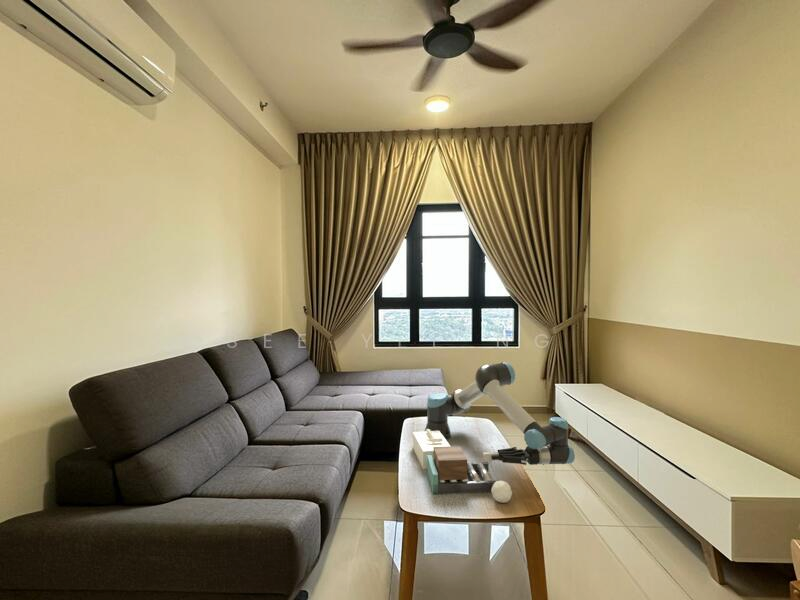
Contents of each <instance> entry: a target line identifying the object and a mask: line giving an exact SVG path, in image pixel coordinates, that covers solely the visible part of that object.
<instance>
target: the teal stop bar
mask: <svg viewBox="0 0 800 600" xmlns="http://www.w3.org/2000/svg"><path fill="white" fill-rule="evenodd" d="M427 465H428V466H427V469H426V474H427V477H428V480H429V483H430V489H431V492H432V494H433V495H439V494H438V491H437V489H436V487H435V486H434V484H435V485H436V486H437V488H438V485H437V484H438V473H437V470H436V467H435V464H434V461H433V458H432V455H427ZM427 470H428V471H427ZM434 487H435V489H433V488H434ZM436 493H437V494H436Z"/></svg>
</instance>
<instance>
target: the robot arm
mask: <svg viewBox="0 0 800 600" xmlns="http://www.w3.org/2000/svg"><path fill="white" fill-rule="evenodd" d="M474 378H475V379H474V380H475V381H473V382H472V383H470V384H469V385H467V386H466V387H464V388H462V389H457V390H455V391H454V392H453V393H449V394H447V393H444V392H436V393H432V394H430V395H428V397H427V401H426V406H427V407H426V409H427V412H426V413H427V418H426V419H427V421H426V425H425V427H424V431H426V429H430V431H440V432H441V434H442V435H443V436H444V438H445V439H446V440H448V439H450V438H451V436H452V435H451V434H452V432H451V429H450V426H449V422H448V416H454V415H457V414H464V413H465V412H467V411H469V410H470V408H471V406H472V403H473V402H474V401H475V402H476V400H479V399H480V398H481V397H483V396H488V397H489V398H490V399H491V401H493V403H494V404H495V405H496V406H497V407H498V408H499V409H500V411H502V412H503V413H504V414H505V415H506V416H507V418H509V420H510V421H511V422H512V423H513V424H514V425H515V426H516V428H517V429H519V430H520V431H521V432H522V434H524V435H523V440H524V441H525V444H526V447H525V449H521V448H520V449H518V448H517V446H513V447H509V448H503V449H502V448H500V449H497V451H496V452H493V451H492V452H483V453H482V460H483V461H500V462H502V463H504V464H505V463H506V464H515V465H516V464H518V465H523V466H527V464H529V466H532V465H533V466H534V465H535V466H537V465H542V466H544V465H566V464H568V465H569V464H572V463H574V461H575V457H576V456H575V455H576V454H575V450H574V448H573V447H572V445H570V444H569V427H568V426H569V425H568V421H567V419H565V418H564V417H561V416H560V417H559V416H552V417H550V418H549V420H548V424H547V425H543V426H541V425H540V423H538V422H537V421H536V420H535V418H533V417H532V416H531V415H530V414H529V413H528V412H527V411H526V410H525V409H524V408H523V407H522V406H521V405H520V404H519V402H517V401H516V400H515V399H514V397H513V396H511V395H510V394H509V392H507V390H505V389H504V388H503V387H505V386H511V385H512V384H513V383H514V382H515V379H516V372H515V369H514V368H513V365H511V364H510V363H508V362H502V361H501V362H497V363H490V364H483V365H481V366H480V367H479V368H477V370H476V372H475V377H474Z"/></svg>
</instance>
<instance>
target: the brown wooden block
mask: <svg viewBox="0 0 800 600" xmlns="http://www.w3.org/2000/svg"><path fill="white" fill-rule="evenodd" d="M467 463H468V458H467V457H466V455H465V453H464V451H463V449H462V447H461V446H460V445H458V446H456V445H455V446H451V445H450V446H448V447H434V464H435V467H436V470H437V473H438V479H439V480H445V481H447V480H448V481H449V480H453V479H456V480H460V479H467V478H468V473H467Z"/></svg>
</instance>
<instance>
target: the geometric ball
mask: <svg viewBox="0 0 800 600" xmlns="http://www.w3.org/2000/svg"><path fill="white" fill-rule="evenodd" d="M490 493H491V494H492V497H493V499H494V500H495V501H496V502H499V503H500V504H505V503H508V502H509V501H510V500H511V498H512V496H513V491H512V489H511V486H510V484H509V483H508V482H506V481H504V480H500V481H496V482H495V483H494V484H493V486H492V489H491V492H490Z"/></svg>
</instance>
